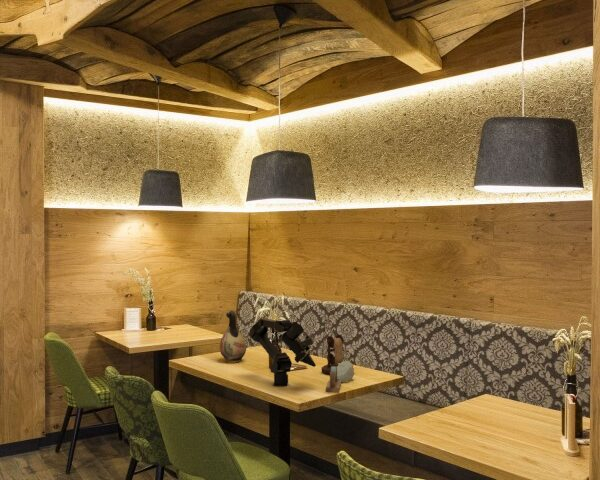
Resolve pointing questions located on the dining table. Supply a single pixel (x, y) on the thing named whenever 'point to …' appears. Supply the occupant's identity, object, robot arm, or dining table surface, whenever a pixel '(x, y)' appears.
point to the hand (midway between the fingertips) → (315, 366)
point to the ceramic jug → (232, 341)
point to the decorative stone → (345, 371)
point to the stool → (333, 383)
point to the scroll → (338, 349)
